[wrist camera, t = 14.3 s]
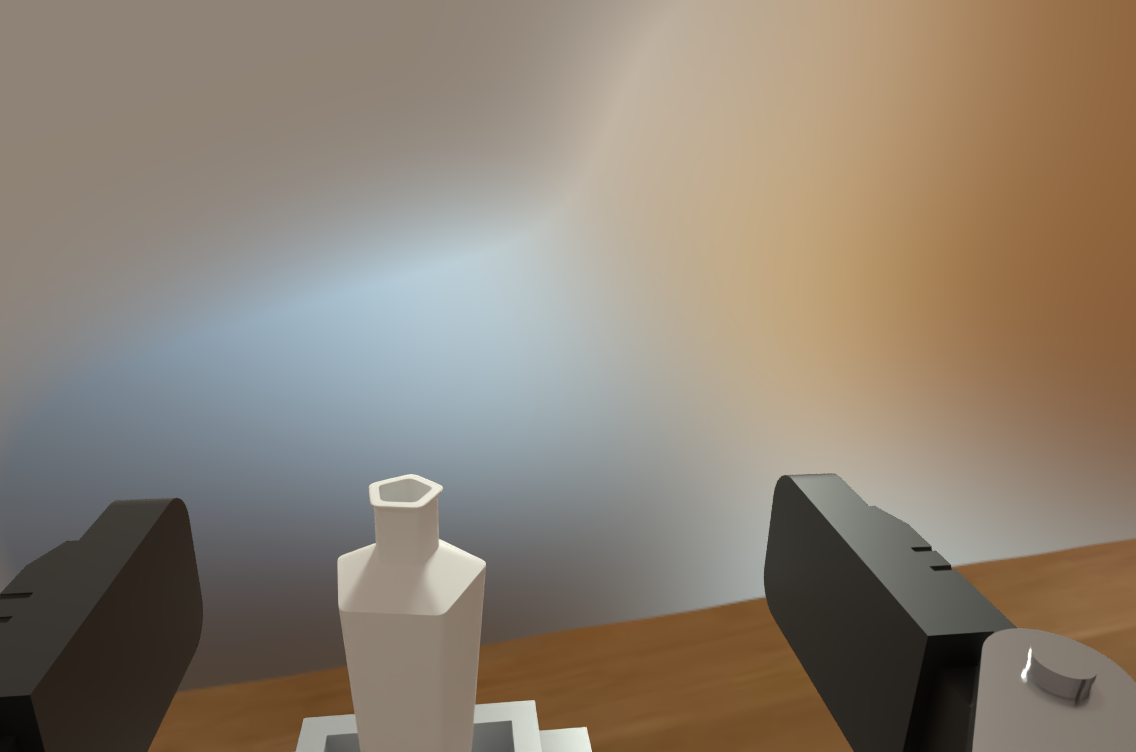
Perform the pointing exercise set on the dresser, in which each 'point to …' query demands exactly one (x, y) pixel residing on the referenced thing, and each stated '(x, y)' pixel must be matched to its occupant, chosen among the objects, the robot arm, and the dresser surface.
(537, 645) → the dresser surface
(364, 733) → the perfume bottle
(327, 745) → the collar stand
